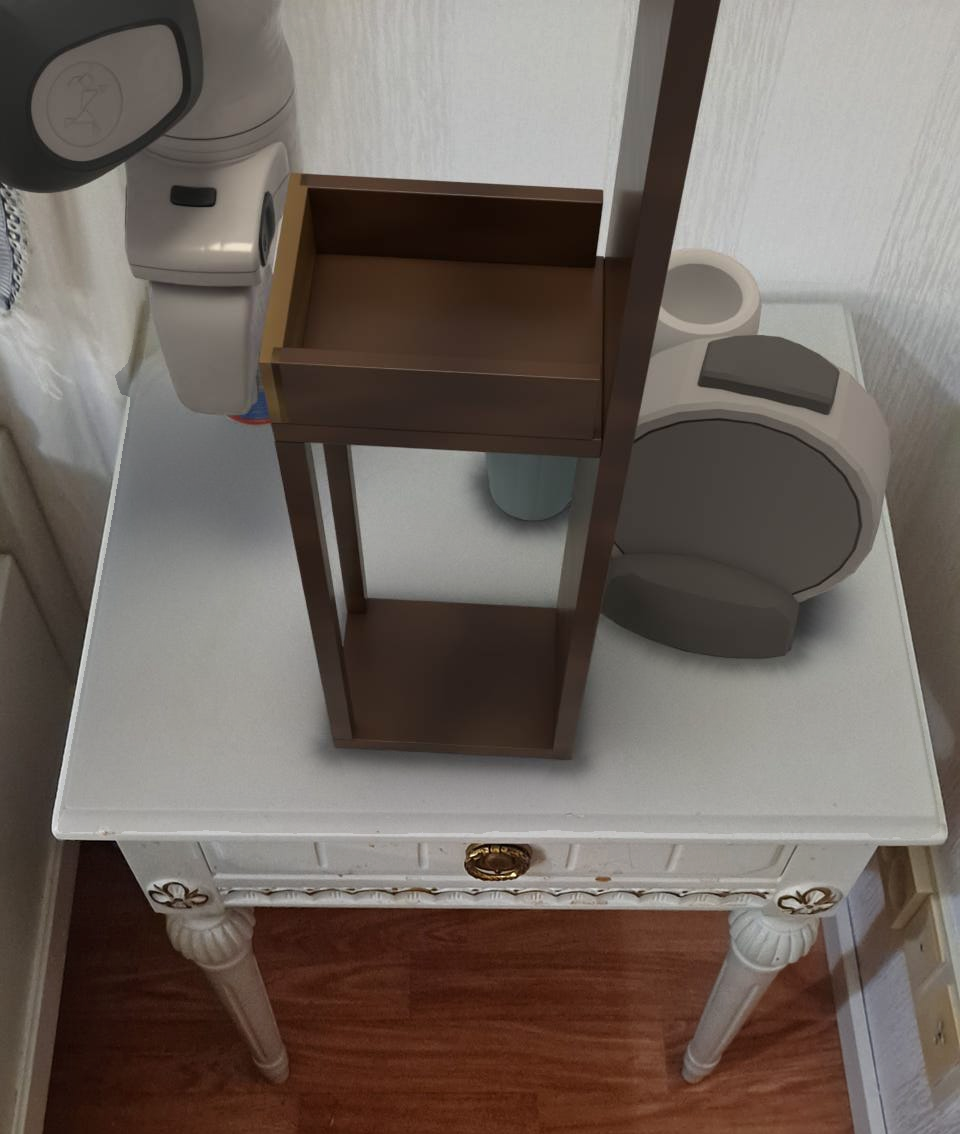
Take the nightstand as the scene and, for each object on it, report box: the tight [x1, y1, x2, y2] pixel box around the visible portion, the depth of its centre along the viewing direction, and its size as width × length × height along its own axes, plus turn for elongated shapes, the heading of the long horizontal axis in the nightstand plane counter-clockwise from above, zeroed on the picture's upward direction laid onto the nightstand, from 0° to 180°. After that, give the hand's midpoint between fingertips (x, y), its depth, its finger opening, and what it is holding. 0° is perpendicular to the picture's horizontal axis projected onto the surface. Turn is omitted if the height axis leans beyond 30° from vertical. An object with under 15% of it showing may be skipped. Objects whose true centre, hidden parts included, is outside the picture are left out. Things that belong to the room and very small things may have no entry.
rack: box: [259, 0, 722, 761], centre depth 51 cm, size 14×10×42 cm
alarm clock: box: [600, 334, 892, 659], centre depth 65 cm, size 16×10×18 cm, turn 74°
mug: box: [650, 247, 763, 358], centre depth 76 cm, size 12×8×8 cm
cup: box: [484, 452, 577, 521], centre depth 72 cm, size 8×8×10 cm
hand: (251, 354), depth 71 cm, fingers closed on pill bottle, 5 cm apart
